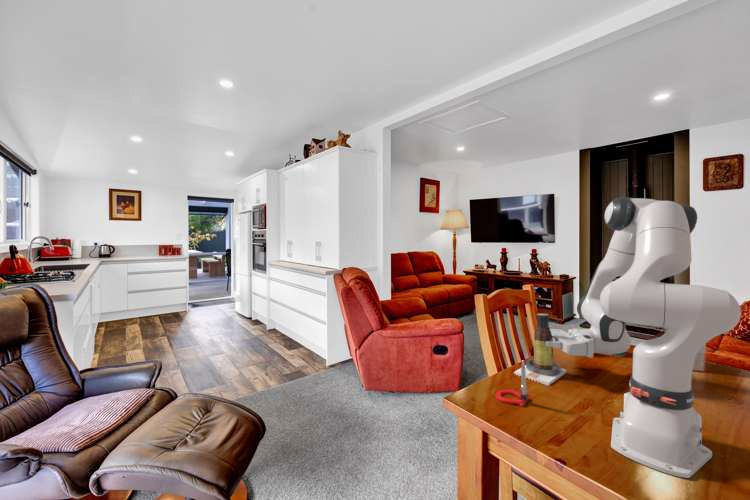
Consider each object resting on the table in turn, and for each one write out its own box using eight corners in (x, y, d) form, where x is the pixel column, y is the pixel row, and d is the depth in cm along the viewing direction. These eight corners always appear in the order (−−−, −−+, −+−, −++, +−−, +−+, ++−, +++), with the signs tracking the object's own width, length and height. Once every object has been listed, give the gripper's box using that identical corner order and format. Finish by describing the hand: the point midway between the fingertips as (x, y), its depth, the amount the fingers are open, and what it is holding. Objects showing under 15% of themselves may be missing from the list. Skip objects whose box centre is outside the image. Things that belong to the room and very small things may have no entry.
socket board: (548, 385, 112) (548, 376, 112) (514, 374, 121) (514, 366, 121) (566, 372, 122) (566, 364, 122) (533, 363, 131) (533, 355, 131)
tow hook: (491, 400, 103) (522, 409, 97) (490, 359, 103) (521, 365, 97) (501, 390, 109) (531, 398, 103) (499, 352, 109) (529, 357, 103)
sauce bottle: (556, 371, 119) (556, 316, 119) (539, 371, 119) (539, 316, 119) (547, 364, 125) (547, 312, 125) (530, 364, 126) (530, 312, 125)
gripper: (565, 324, 132) (529, 324, 133) (596, 341, 111) (553, 340, 112) (565, 340, 132) (529, 339, 133) (595, 359, 111) (553, 358, 112)
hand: (540, 340), depth 122 cm, fingers closed on sauce bottle, 6 cm apart
